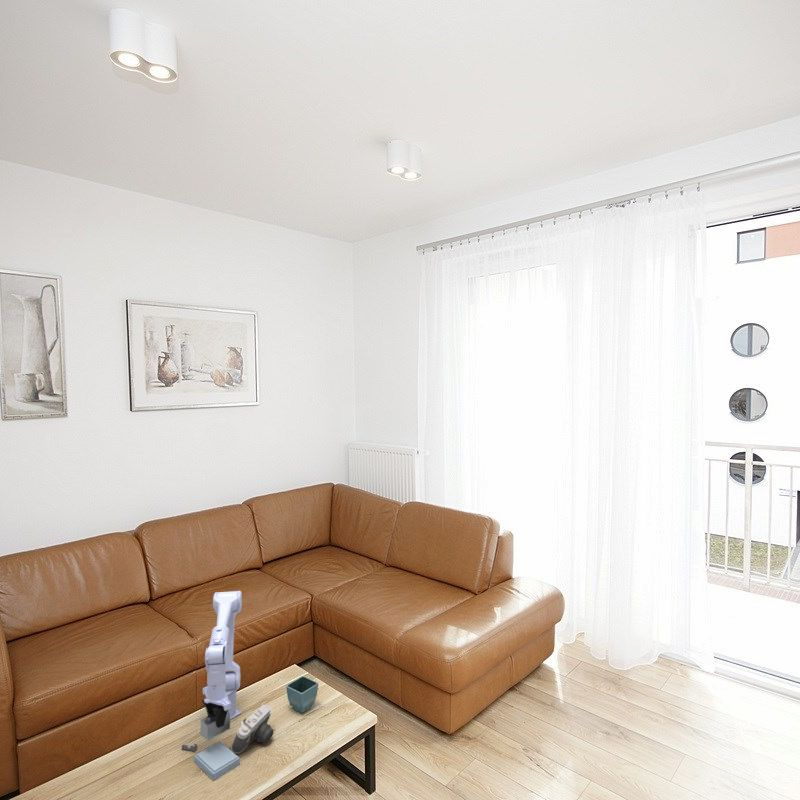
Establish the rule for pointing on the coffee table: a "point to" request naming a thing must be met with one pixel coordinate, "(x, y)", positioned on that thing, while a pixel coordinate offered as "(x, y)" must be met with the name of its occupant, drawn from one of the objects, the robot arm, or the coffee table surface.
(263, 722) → the camera
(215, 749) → the stand
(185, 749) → the bolt
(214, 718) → the block
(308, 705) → the flower pot
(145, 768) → the coffee table surface
